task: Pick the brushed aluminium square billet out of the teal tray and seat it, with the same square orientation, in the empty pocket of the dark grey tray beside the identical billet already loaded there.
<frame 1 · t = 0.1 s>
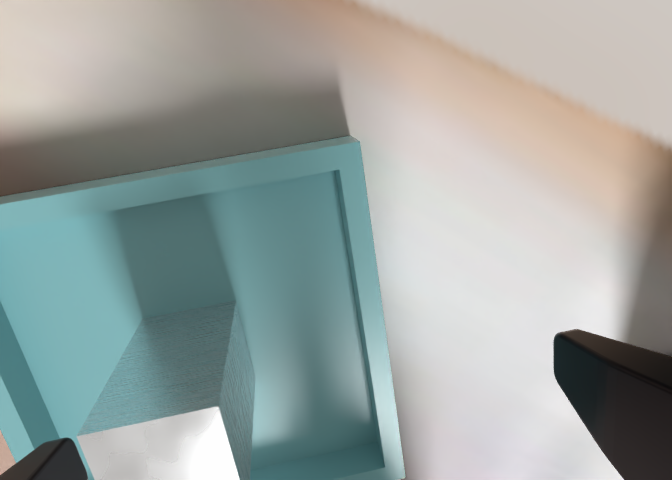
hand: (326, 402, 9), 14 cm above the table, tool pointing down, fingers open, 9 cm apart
billet: (201, 349, 23), point 1 cm above the table, touching teal tray
teal tray: (202, 343, 24), on the table
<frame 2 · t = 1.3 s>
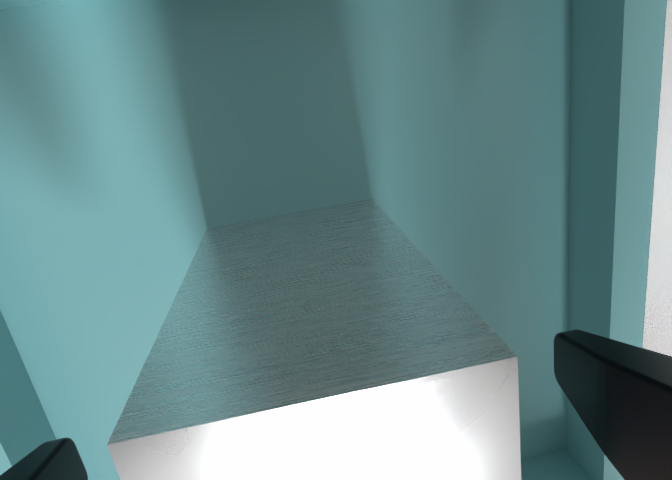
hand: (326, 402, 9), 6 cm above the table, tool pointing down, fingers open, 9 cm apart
billet: (304, 288, 13), point 1 cm above the table, touching teal tray
teal tray: (303, 280, 14), on the table
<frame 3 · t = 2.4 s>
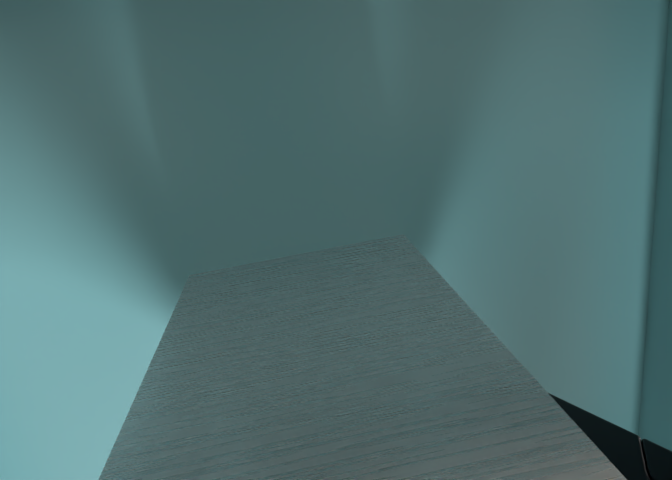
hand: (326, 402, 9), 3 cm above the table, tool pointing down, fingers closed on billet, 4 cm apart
billet: (316, 347, 10), point 1 cm above the table, touching gripper, teal tray
teal tray: (314, 334, 11), on the table
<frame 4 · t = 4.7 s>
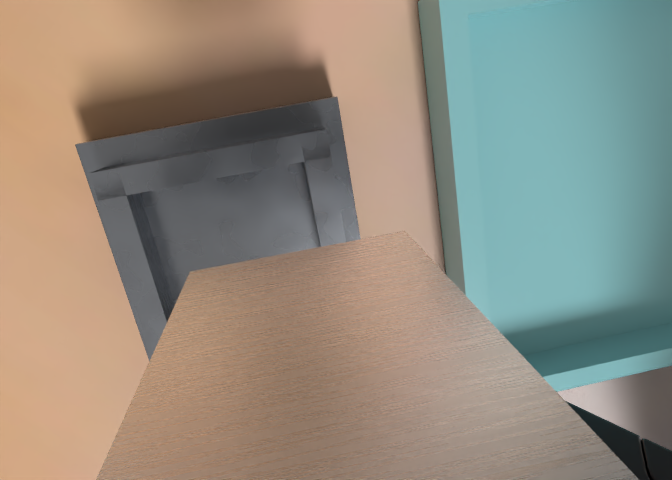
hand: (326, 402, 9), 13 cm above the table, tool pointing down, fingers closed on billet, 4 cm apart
billet: (317, 344, 10), point 11 cm above the table, touching gripper
teal tray: (623, 178, 22), on the table
dark grey tray: (266, 331, 22), on the table
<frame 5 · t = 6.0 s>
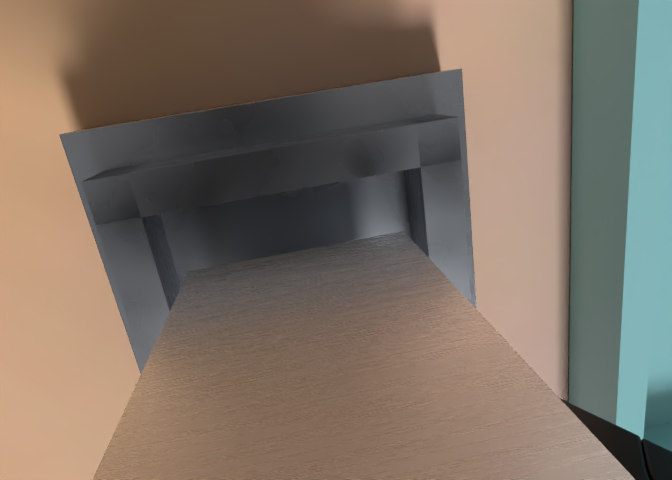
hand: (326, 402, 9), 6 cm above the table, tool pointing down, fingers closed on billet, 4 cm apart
billet: (315, 344, 10), point 5 cm above the table, touching gripper
dark grey tray: (325, 397, 16), on the table
when the fingers open (4 cm above the table, at t = 6.9 s): billet stays where it is, resting on dark grey tray.
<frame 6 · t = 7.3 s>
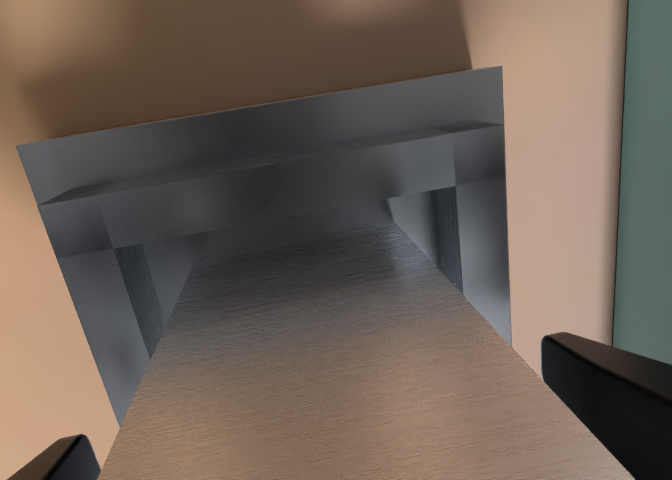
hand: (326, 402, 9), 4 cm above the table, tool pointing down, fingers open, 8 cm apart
billet: (313, 326, 11), point 1 cm above the table, touching dark grey tray
dark grey tray: (334, 441, 14), on the table
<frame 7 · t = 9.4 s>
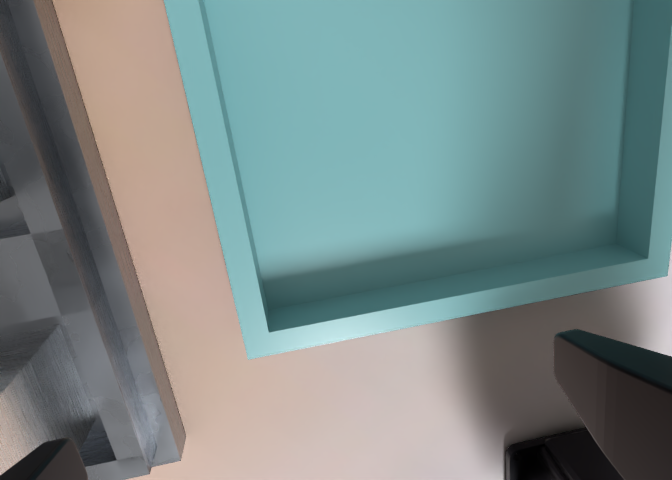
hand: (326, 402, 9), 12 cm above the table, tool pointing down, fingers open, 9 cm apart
teal tray: (432, 86, 18), on the table
loaded billet: (19, 385, 18), point 1 cm above the table, touching dark grey tray
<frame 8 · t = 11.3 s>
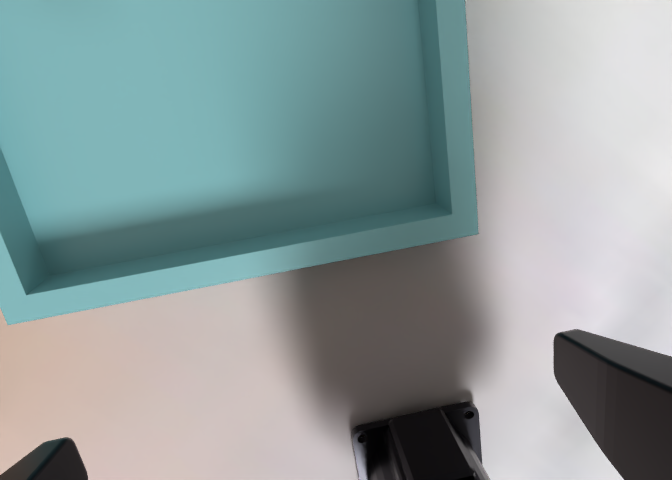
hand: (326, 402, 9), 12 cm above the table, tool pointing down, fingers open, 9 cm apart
teal tray: (203, 30, 17), on the table
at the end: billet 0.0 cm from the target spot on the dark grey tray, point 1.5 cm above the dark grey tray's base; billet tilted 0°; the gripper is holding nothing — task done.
